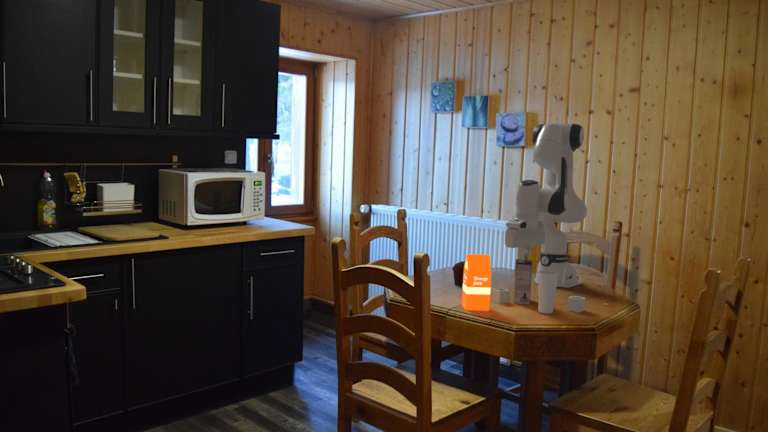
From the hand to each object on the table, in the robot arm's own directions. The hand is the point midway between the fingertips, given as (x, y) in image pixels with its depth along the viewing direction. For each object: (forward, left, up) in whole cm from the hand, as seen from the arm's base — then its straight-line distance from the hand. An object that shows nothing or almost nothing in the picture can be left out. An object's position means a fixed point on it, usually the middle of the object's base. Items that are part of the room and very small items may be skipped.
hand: (524, 257), depth 253 cm
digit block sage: (+8, -4, -18) cm, 20 cm away
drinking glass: (+6, +16, -18) cm, 25 cm away
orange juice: (+24, -2, -18) cm, 30 cm away
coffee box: (0, 0, -18) cm, 18 cm away
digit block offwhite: (-7, +20, -18) cm, 28 cm away
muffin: (-3, -34, -18) cm, 38 cm away
